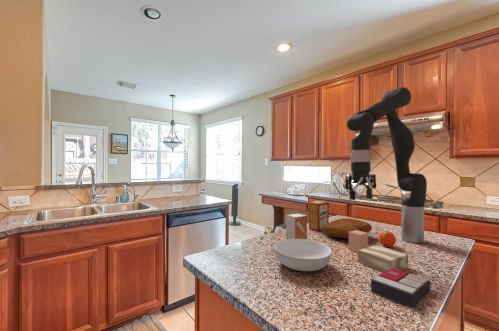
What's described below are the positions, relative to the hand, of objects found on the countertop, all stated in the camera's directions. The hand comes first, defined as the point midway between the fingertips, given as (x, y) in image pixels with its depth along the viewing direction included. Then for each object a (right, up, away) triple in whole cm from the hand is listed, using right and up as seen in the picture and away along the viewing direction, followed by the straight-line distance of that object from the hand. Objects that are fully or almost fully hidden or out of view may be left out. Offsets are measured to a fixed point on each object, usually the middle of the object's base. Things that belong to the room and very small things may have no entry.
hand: (361, 199), depth 102 cm
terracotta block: (0, -23, +3) cm, 23 cm away
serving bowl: (-28, -23, -13) cm, 38 cm away
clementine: (+16, -23, +8) cm, 29 cm away
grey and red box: (-2, -24, -30) cm, 38 cm away
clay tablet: (+4, -23, +23) cm, 33 cm away
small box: (-25, -23, +14) cm, 37 cm away
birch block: (+3, -23, -12) cm, 26 cm away
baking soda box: (-7, -23, +38) cm, 45 cm away
